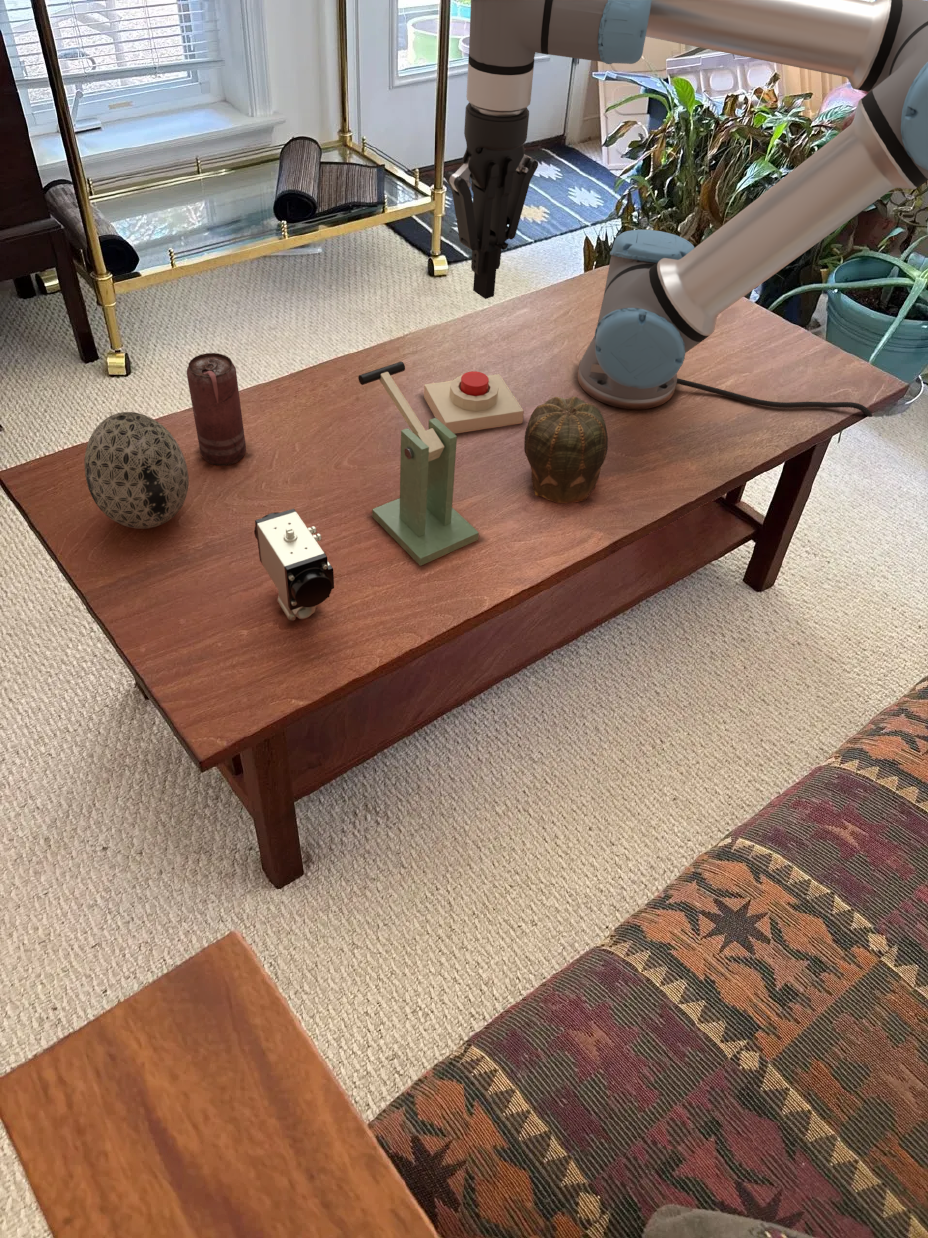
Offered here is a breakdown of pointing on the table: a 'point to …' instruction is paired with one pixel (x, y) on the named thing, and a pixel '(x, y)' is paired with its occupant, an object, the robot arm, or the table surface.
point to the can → (216, 408)
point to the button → (474, 383)
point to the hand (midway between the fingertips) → (483, 293)
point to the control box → (473, 405)
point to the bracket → (426, 500)
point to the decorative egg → (135, 471)
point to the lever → (404, 406)
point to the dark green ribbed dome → (565, 449)
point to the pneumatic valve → (294, 562)
